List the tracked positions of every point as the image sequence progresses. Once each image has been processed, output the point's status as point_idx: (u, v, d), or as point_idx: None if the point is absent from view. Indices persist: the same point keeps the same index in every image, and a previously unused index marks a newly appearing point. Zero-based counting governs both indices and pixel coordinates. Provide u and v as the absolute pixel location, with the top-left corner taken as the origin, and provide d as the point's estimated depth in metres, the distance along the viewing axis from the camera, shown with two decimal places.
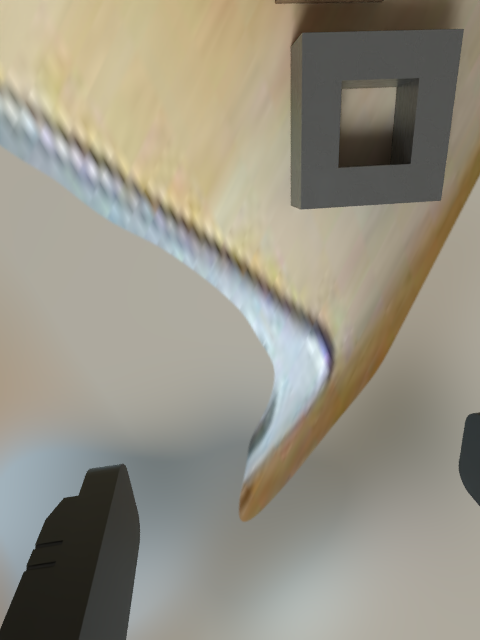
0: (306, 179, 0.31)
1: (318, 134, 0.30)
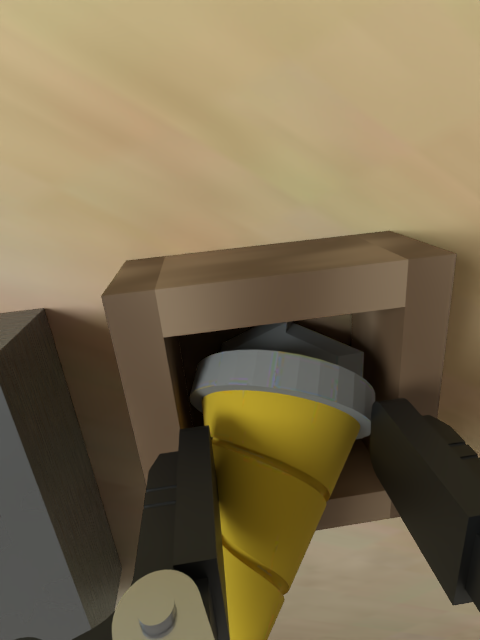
0: None
1: None
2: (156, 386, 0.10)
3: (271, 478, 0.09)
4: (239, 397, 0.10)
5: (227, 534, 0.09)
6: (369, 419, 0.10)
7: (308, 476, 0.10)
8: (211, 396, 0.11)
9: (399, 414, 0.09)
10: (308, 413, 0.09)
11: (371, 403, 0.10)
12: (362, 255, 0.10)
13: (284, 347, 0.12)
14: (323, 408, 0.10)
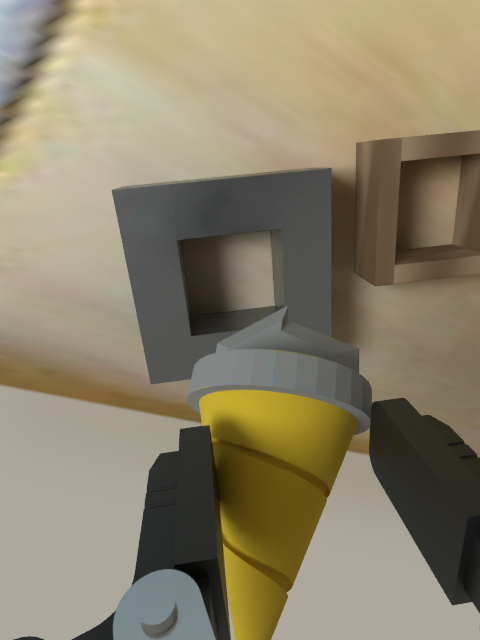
0: (156, 194, 0.21)
1: (217, 204, 0.22)
2: (392, 186, 0.22)
3: (272, 477, 0.09)
4: (238, 396, 0.10)
5: (229, 534, 0.09)
6: (367, 415, 0.10)
7: (309, 473, 0.10)
8: (209, 396, 0.11)
9: (398, 414, 0.09)
10: (307, 411, 0.10)
11: (368, 399, 0.10)
12: None
13: (280, 345, 0.12)
14: (321, 405, 0.10)
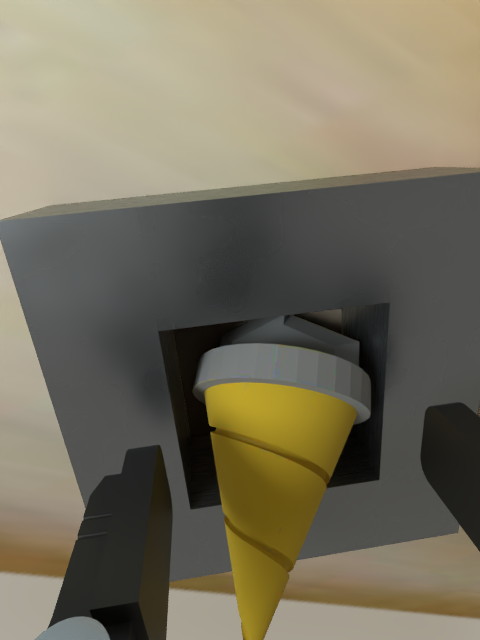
0: (106, 230, 0.09)
1: (251, 252, 0.09)
2: None
3: (274, 465, 0.10)
4: (241, 388, 0.10)
5: (234, 518, 0.10)
6: (365, 406, 0.11)
7: (309, 461, 0.10)
8: (214, 388, 0.11)
9: (460, 419, 0.09)
10: (308, 402, 0.10)
11: (367, 391, 0.11)
12: None
13: (283, 339, 0.13)
14: (322, 397, 0.10)
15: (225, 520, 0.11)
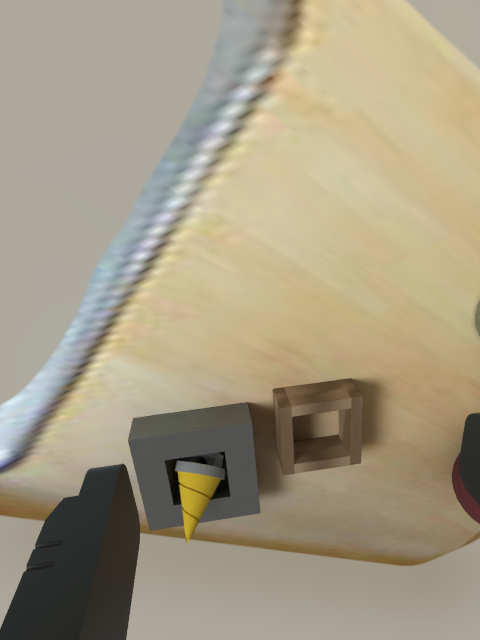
0: (152, 440, 0.38)
1: (187, 442, 0.38)
2: (288, 428, 0.39)
3: (193, 494, 0.39)
4: (186, 473, 0.39)
5: (183, 507, 0.39)
6: (219, 477, 0.40)
7: (203, 492, 0.39)
8: (179, 472, 0.40)
9: None
10: (202, 478, 0.39)
11: (221, 473, 0.40)
12: (340, 394, 0.39)
13: None
14: (206, 476, 0.39)
15: (182, 508, 0.40)
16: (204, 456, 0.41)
